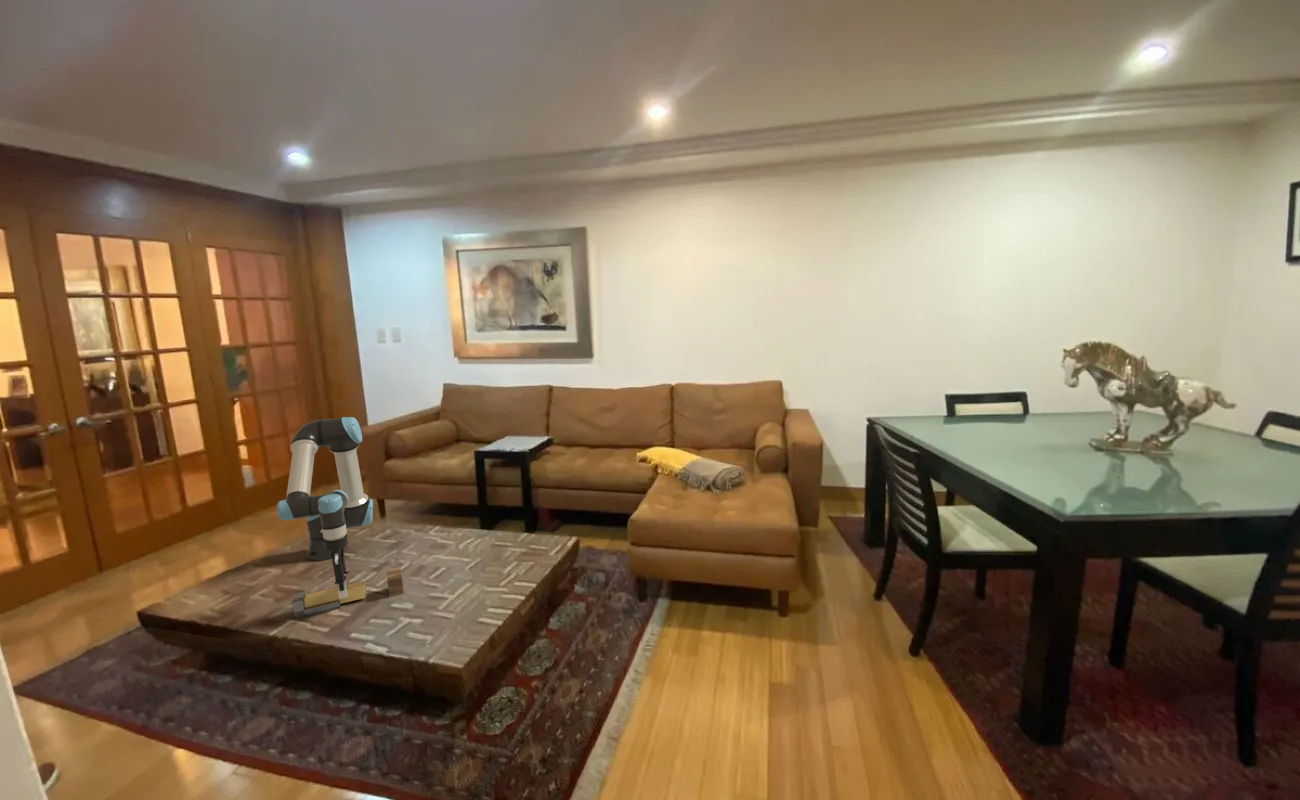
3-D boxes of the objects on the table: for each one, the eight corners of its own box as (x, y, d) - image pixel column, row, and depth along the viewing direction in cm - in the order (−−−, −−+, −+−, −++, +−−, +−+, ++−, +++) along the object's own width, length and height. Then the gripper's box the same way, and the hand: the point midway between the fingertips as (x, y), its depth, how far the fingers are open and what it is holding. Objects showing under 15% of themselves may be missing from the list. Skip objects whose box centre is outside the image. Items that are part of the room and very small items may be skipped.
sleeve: (298, 610, 194) (295, 592, 193) (341, 600, 200) (338, 582, 199) (295, 619, 189) (292, 600, 187) (340, 608, 195) (337, 590, 193)
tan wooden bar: (298, 608, 193) (294, 586, 191) (365, 592, 203) (362, 571, 201) (296, 614, 190) (293, 591, 188) (365, 597, 199) (362, 576, 197)
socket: (389, 588, 208) (386, 569, 206) (403, 584, 210) (400, 566, 208) (389, 596, 201) (386, 577, 200) (403, 593, 204) (401, 574, 202)
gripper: (325, 530, 199) (334, 586, 203) (320, 548, 184) (330, 608, 188) (348, 525, 202) (356, 581, 207) (345, 543, 187) (353, 602, 191)
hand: (343, 594), depth 197 cm, fingers closed on tan wooden bar, 4 cm apart
